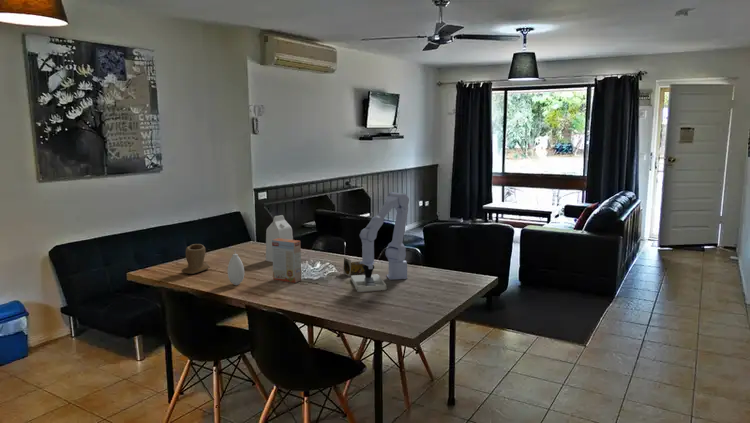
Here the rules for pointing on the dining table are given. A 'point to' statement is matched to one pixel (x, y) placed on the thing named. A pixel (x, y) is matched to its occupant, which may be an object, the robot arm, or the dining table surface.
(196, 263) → the stone cup
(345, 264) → the condiment
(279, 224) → the milk
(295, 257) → the cracker box
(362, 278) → the board
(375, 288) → the tray
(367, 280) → the tile rear
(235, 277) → the white vase
